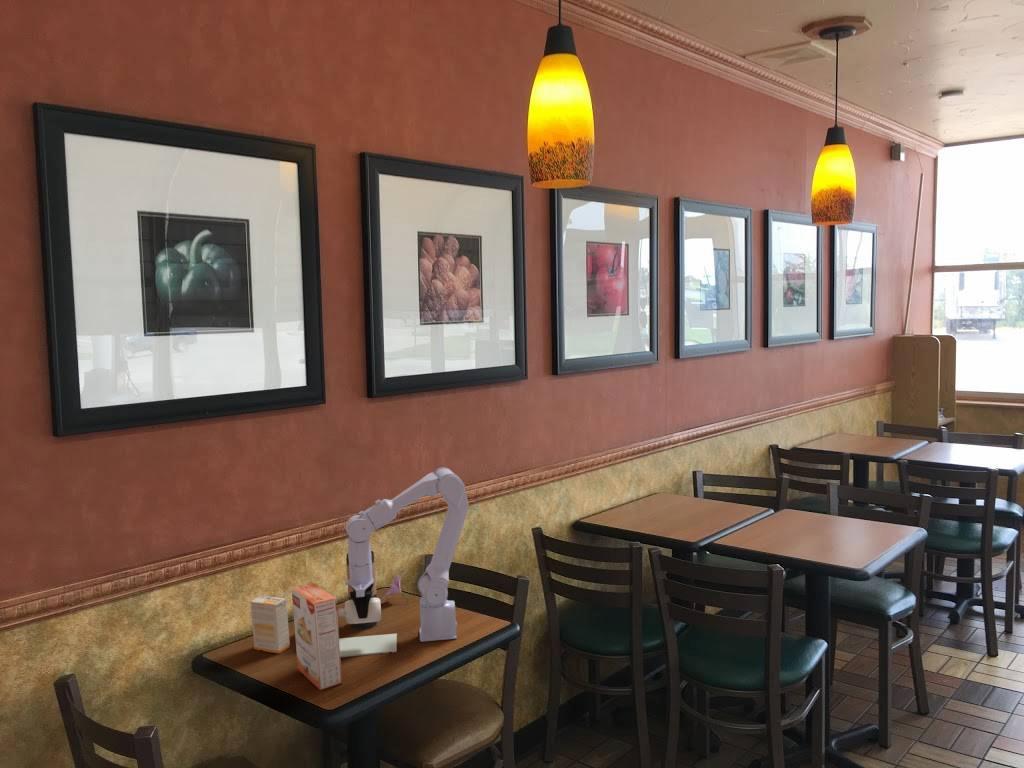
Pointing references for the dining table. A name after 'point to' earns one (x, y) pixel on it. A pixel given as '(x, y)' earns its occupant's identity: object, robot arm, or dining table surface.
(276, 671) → the dining table surface
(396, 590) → the lily
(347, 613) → the grey rounded piece
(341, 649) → the mat
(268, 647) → the supplement box
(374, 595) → the travel mug
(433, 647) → the dining table surface
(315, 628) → the cracker box
